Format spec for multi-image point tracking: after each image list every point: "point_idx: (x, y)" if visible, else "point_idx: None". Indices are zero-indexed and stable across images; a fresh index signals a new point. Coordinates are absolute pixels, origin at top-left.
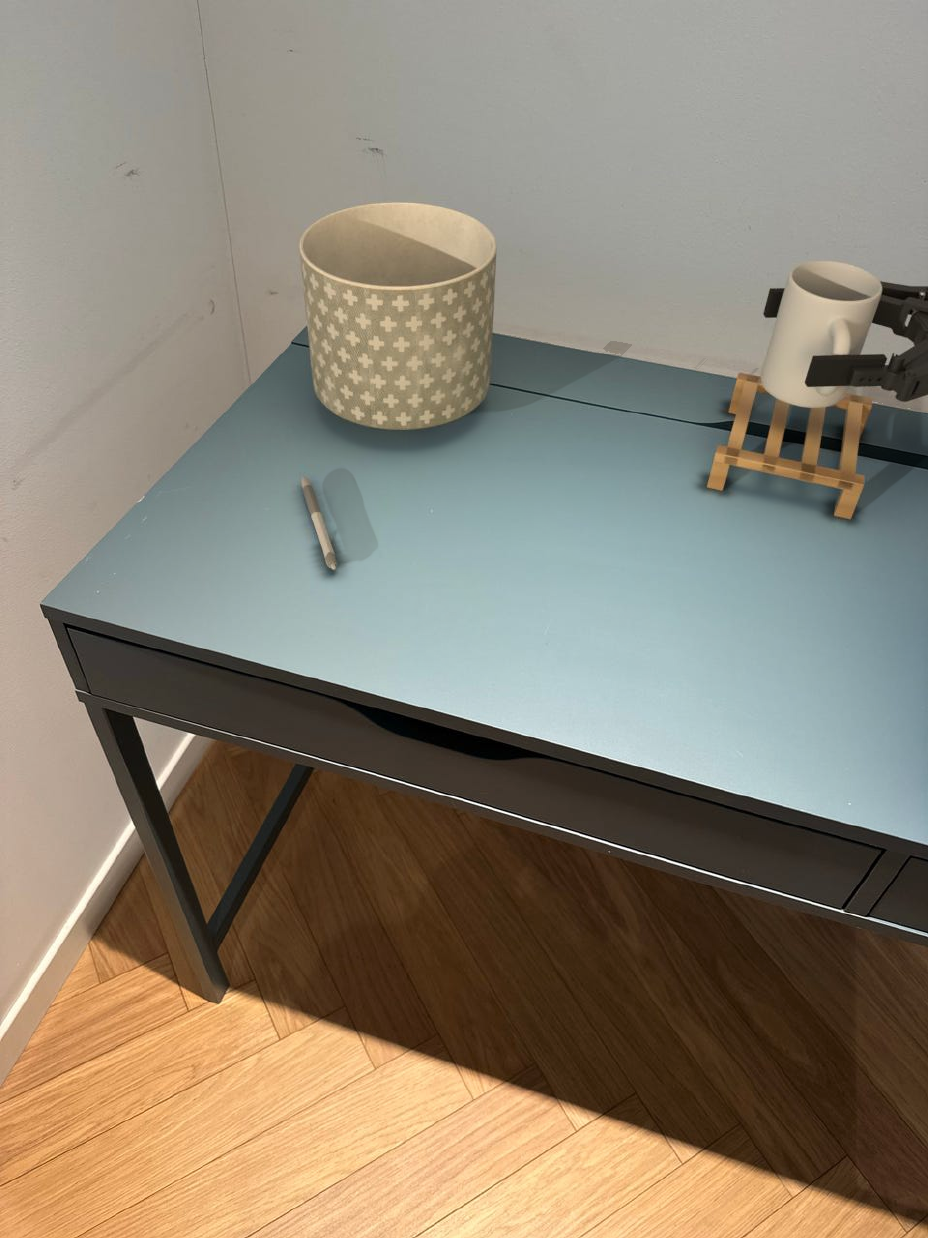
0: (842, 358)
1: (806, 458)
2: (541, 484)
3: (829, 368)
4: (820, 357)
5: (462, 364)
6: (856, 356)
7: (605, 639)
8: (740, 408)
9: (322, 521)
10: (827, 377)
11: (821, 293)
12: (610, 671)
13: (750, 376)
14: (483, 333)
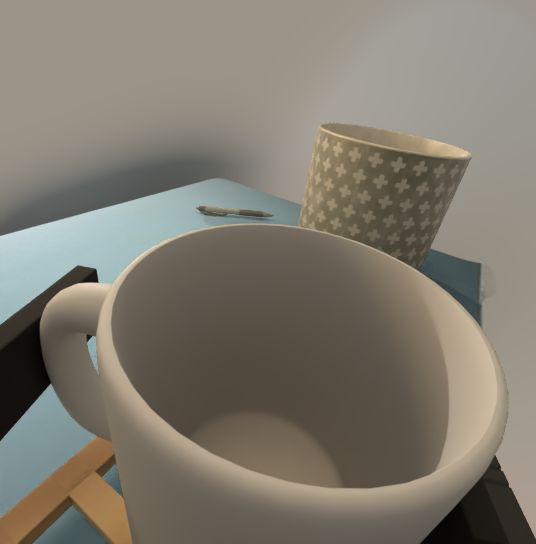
0: (33, 303)
1: (98, 485)
2: None
3: None
4: (78, 275)
5: (318, 209)
6: (6, 333)
7: (61, 266)
8: None
9: (231, 210)
10: None
11: (422, 446)
12: (33, 259)
13: None
14: (342, 203)
